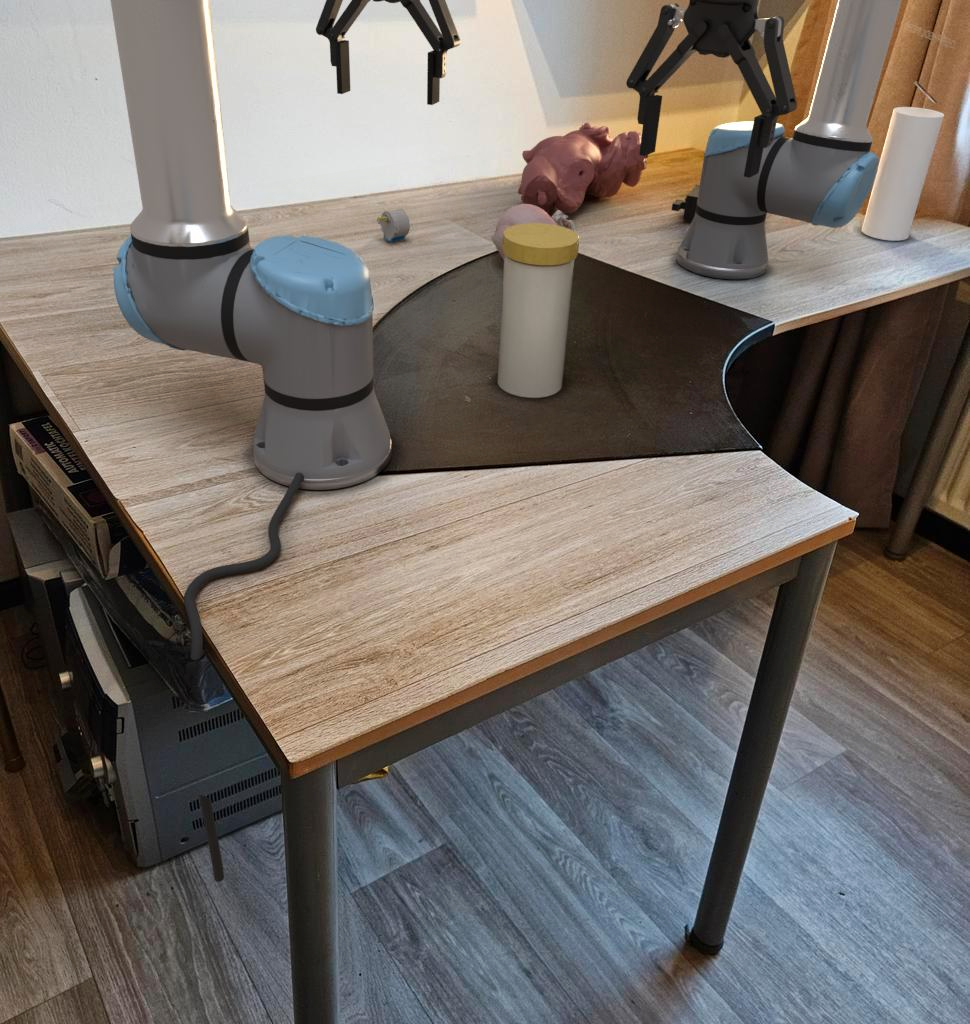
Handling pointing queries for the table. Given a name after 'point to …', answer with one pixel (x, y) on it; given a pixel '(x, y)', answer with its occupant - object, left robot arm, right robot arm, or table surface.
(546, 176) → the reddish pink figurine
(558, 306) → the jar
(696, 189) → the toy
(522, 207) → the toy
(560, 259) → the lid
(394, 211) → the electric motor
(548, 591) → the table surface
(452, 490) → the table surface
